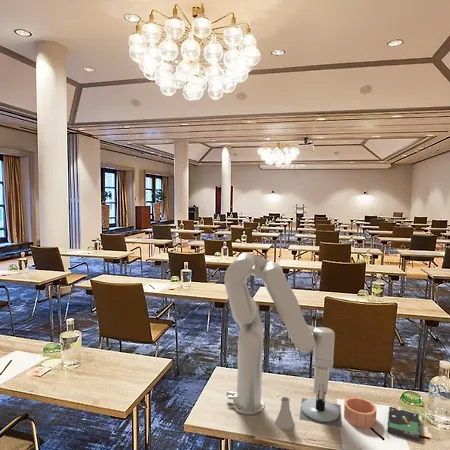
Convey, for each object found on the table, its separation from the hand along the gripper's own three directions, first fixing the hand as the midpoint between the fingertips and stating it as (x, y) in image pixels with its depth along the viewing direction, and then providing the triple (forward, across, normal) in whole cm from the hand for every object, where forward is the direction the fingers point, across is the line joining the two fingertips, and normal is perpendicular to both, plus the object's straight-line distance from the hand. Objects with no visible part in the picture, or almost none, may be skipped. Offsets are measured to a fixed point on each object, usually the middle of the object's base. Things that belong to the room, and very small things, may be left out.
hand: (320, 407), depth 137 cm
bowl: (+3, 0, +14) cm, 15 cm away
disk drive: (+3, -2, +30) cm, 30 cm away
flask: (+3, +12, -12) cm, 17 cm away
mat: (+3, 0, 0) cm, 3 cm away
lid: (+2, 0, 0) cm, 2 cm away
